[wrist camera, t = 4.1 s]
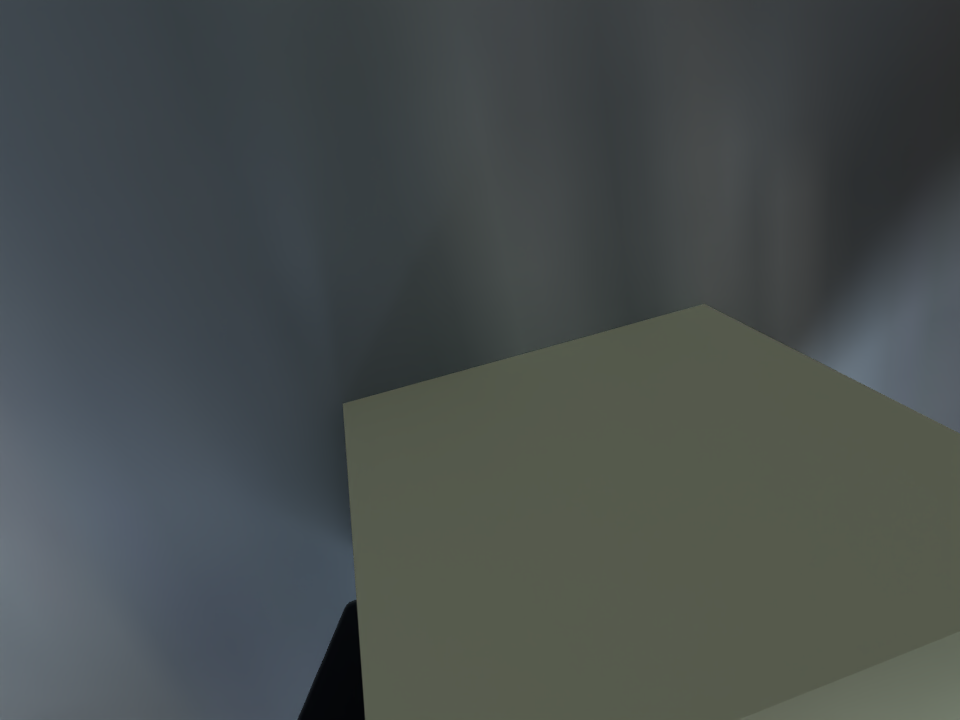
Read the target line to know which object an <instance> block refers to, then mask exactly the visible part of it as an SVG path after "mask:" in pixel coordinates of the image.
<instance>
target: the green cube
mask: <svg viewBox="0 0 960 720" xmlns="http://www.w3.org/2000/svg"><path fill="white" fill-rule="evenodd" d="M343 414H344V428H345V442H346V456H347V471H348V485H349V499H350V513H351V527H352V541H353V555H354V569H355V583H356V597H357V612H358V626H359V640H360V654H361V668H362V682H363V696H364V710H365V720H960V433H958V432H956V431H954V430H952V429H950V428H948V427H946V426H944V425H942V424H940V423H938V422H936V421H934V420H932V419H930V418H928V417H926V416H924V415H922V414H920V413H918V412H916V411H914V410H912V409H910V408H908V407H906V406H904V405H902V404H900V403H899V402H897V401H895V400H893V399H891V398H889V397H887V396H885V395H883V394H881V393H879V392H877V391H875V390H873V389H871V388H869V387H867V386H865V385H863V384H861V383H859V382H857V381H855V380H853V379H851V378H849V377H847V376H845V375H843V374H841V373H839V372H837V371H836V370H834V369H832V368H830V367H828V366H826V365H824V364H822V363H820V362H818V361H816V360H814V359H812V358H810V357H808V356H806V355H804V354H802V353H800V352H798V351H796V350H794V349H792V348H790V347H788V346H786V345H784V344H782V343H780V342H778V341H776V340H774V339H772V338H771V337H769V336H767V335H765V334H763V333H761V332H759V331H757V330H755V329H753V328H751V327H749V326H747V325H745V324H743V323H741V322H739V321H737V320H735V319H733V318H731V317H729V316H727V315H725V314H723V313H721V312H719V311H717V310H715V309H713V308H711V307H709V306H708V305H706V304H702V305H698V306H694V307H691V308H687V309H684V310H680V311H676V312H673V313H669V314H665V315H662V316H658V317H655V318H651V319H647V320H644V321H640V322H637V323H633V324H629V325H626V326H622V327H618V328H615V329H611V330H608V331H604V332H600V333H597V334H593V335H589V336H586V337H582V338H579V339H575V340H571V341H568V342H564V343H560V344H557V345H553V346H550V347H546V348H542V349H539V350H535V351H532V352H528V353H524V354H521V355H517V356H513V357H510V358H506V359H503V360H499V361H495V362H492V363H488V364H484V365H481V366H477V367H474V368H470V369H466V370H463V371H459V372H455V373H452V374H448V375H445V376H441V377H437V378H434V379H430V380H427V381H423V382H419V383H416V384H412V385H408V386H405V387H401V388H398V389H394V390H390V391H387V392H383V393H379V394H376V395H372V396H369V397H365V398H361V399H358V400H354V401H350V402H347V403H343Z"/></svg>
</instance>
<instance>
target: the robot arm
mask: <svg viewBox="0 0 960 720" xmlns="http://www.w3.org/2000/svg"><path fill="white" fill-rule="evenodd" d="M298 720H365V710H364V696H363V682H362V668H361V654H360V640H359V626H358V612H357V600H354V601H351V602H349V603H348V604H347V605H346V607H345V609H344V611H343V613H342V616H341V618H340V620H339V623H338V625H337V627H336V630H335V632H334V634H333V637H332V639H331V642H330V644H329V646H328V649H327V651H326V653H325V656H324V658H323V661H322V663H321V665H320V668H319V670H318V672H317V675H316V677H315V679H314V682H313V684H312V687H311V689H310V691H309V694H308V696H307V698H306V701H305V703H304V705H303V708H302V710H301V713H300V715H299V717H298Z"/></svg>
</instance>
